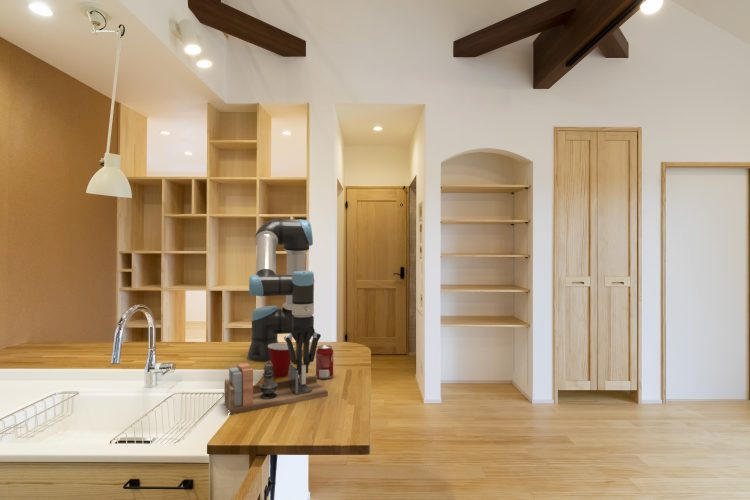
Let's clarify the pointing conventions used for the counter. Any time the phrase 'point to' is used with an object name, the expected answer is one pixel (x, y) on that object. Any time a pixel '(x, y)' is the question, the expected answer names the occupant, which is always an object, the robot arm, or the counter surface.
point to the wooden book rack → (247, 396)
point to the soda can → (324, 362)
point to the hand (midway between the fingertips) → (302, 383)
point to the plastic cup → (280, 358)
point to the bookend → (296, 382)
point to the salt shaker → (268, 382)
